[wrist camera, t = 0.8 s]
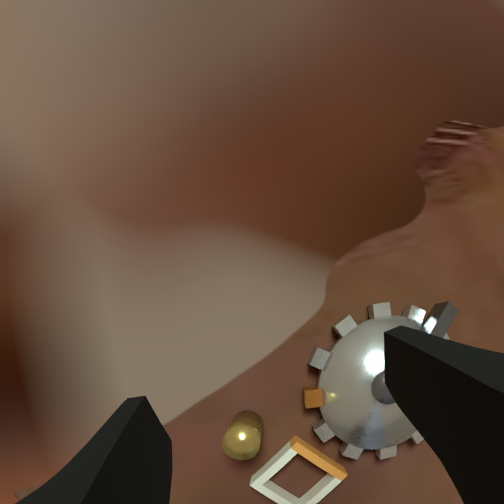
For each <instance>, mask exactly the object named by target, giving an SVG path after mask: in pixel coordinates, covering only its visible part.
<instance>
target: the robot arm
mask: <svg viewBox="0 0 504 504" xmlns="http://www.w3.org/2000/svg"><path fill="white" fill-rule="evenodd" d="M384 369H385V377H384V383H385V385H386V386H387V388H388V390H389V392H390V394H391V395H392V397H393V399H394V400H395V402H396V404H397V405H398V407H399V408H400V409H401V411H402V412H403V413H404V415H405V416H406V417H407V418H408V420H409V421H410V422H411V423H412V425H413V426H414V427H415V428H416V430H417V431H418V432H419V433H420V435H421V436H422V437H423V438H424V440H425V441H426V442H427V443H428V445H429V446H430V447H431V448H432V450H433V451H434V452H435V454H436V455H437V456H438V458H439V459H440V461H441V462H442V464H443V465H444V467H445V469H446V471H447V472H448V474H449V476H450V478H451V479H452V481H453V483H454V485H455V487H456V489H457V491H458V493H459V495H460V496H461V498H462V500H463V502H464V504H504V353H499V352H494V351H489V350H485V349H480V348H476V347H472V346H468V345H464V344H461V343H457V342H454V341H451V340H447V339H444V338H441V337H438V336H435V335H432V334H429V333H425V332H422V331H419V330H416V329H413V328H409V327H406V326H401V325H400V326H398V327H395V328H393V329H390V330H388V331H385V332H384ZM171 479H172V442H171V439H170V437H169V436H168V434H167V432H166V431H165V429H164V427H163V426H162V424H161V423H160V421H159V419H158V417H157V416H156V414H155V412H154V410H153V409H152V407H151V405H150V403H149V402H148V400H147V398H146V396H141V397H134V398H127V400H125V401H124V402H123V404H121V405H120V407H119V408H118V409H117V410H116V411H115V412H114V413H113V414H112V416H111V417H110V418H109V419H108V420H107V421H106V423H105V424H104V425H103V426H102V427H101V428H100V429H99V431H98V432H97V433H96V434H95V435H94V436H93V437H92V438H91V440H90V441H89V442H88V443H87V444H86V445H85V446H84V447H83V448H82V449H81V450H80V451H79V452H78V453H77V454H76V455H75V456H74V457H73V458H72V460H71V461H70V462H69V463H68V464H67V465H66V466H65V467H63V469H61V470H60V471H59V472H58V473H57V474H56V475H55V476H53V477H52V478H51V479H50V480H48V481H47V482H46V483H45V484H44V485H42V486H41V487H40V488H38V489H37V490H35V491H34V492H32V493H31V494H29V495H28V496H26V497H25V498H23V499H22V500H20V501H19V502H17V503H15V504H169V499H170V489H171Z"/></svg>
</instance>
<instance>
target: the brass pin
mask: <svg viewBox="0 0 504 504" xmlns="http://www.w3.org/2000/svg"><path fill="white" fill-rule="evenodd" d="M262 431H263V421H262V419H261V417H260V416H259V415H258V414H257V413H255V412H252V411H242V412H240V413H238V414H237V415H236V416H235V417H234V418H233V420H232V422H231V424H230V426H229V428H228V430H227V431H226V433H225V435H224V437H223V439H222V447H223V450H224V452H225V453H226V454H227V455H228V456H229V457H231V458H233V459H236V460H248V459H251V458H253V457H254V456H255V455H256V454H257V453H258V451H259V448H260V443H261V437H262Z"/></svg>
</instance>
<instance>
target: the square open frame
mask: <svg viewBox="0 0 504 504" xmlns="http://www.w3.org/2000/svg"><path fill="white" fill-rule="evenodd" d="M297 453H298V454H300V455H301V456H303V457H304V458H306V459H307V460H309V461H310V462H312V463H313V464H315V465H317V466H318V467H320V468H321V469H323V470H324V471H326V472H328V473H327V474H326V475H325V476H324V477H323V478H322V479H321V480H320V481H319V482H318V483H317V484H316V485H314V486H313V487H312V488H311V489H310V490H309V491H308V492H306V493H305V494H304V495H303V496H302V497H301V498H297V497H295V496H294V495H292V494H290V493H289V492H287V491H286V490H284V489H282V488H281V487H279V486H278V485H276V484H275V483H273V482H271V481H270V480H269V479H270V478H271V477H272V476H273V475H274V474H275V473H277V472H278V471H279V470H280V469H281V468H282V467H283V466H284V465H285V464H286V463H287V462H288V461H290V460H291V459H292V458H293V457H294V456H295V455H296V454H297ZM346 476H347V473H346V471H345V469H344V467H343V466H341V465H340V464H338V463H337V462H335V461H333V460H332V459H330V458H329V457H327V456H326V455H324V454H323V453H321V452H320V451H318V450H317V449H315V448H314V447H312V446H311V445H310V444H308V443H307V442H305V441H304V440H302V439H301V438H300V437H298V436H297V435H295V436H294V437H293V438H292V439H291V440H290V441H289V442H288V443H287V444H286V445H285V446H284V447H283V448H282V449H281V450H280V451H279V452H278V453H277V454H276V455H275V456H274V457H272V458H271V459H270V460H269V461H268V462H267V463H266V464H265V465H264V466H263V467H262V468H260V469H259V470H258V471H257V472H256V473H255V474H254V475H253V476H251V481H250V486H251V487H253V488H254V489H256V490H257V491H259V492H260V493H262V494H263V495H265V496H267V497H268V498H270V499H271V500H273V501H275V502H276V503H278V504H316V503H318V502H319V501H320V500H321V499H322V498H323V497H325V496H326V495H327V494H328V493H329V492H330V491H331V490H333V489H334V488H335V487H336V486H337V485H338V484H339V483H340V482H341V481H342V480H343V479H344V478H345V477H346Z"/></svg>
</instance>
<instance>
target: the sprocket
mask: <svg viewBox="0 0 504 504" xmlns="http://www.w3.org/2000/svg"><path fill="white" fill-rule="evenodd" d="M425 312H426V311H424V310H422V309H420V308H418V307H415V306H413V305H409V306H405V308H404V311H403V314H402V316H391V310H390V302H386V303H379V304H373V305H370V306H368V313H369V319H368V320H365V321H363V322H360V323H358V324H356V323H355V321H354V320H353V319H352V317H351V316H350V315H346V316H345V317H343V318H342V319H341V320H339V321H338V322H337V323H336V324H334V325H333V326H332V328H333V329H334V331H335V332H336V333H337V335H338V336H339V338H338V339H337V340H336V341H335V342H334V344H333V345H332V346H331V348H330V349H329V350H328V352H327V351H325V350H322V349H320V348H318V347H315V349H314V351H313V353H312V355H311V357H310V359H309V361H308V364H309V365H311V366H314V367H316V368H318V369H320V370H319V374H318V378H317V385H316V386H310V387H303V395H304V405H305V408H314V407H319V409H320V412H321V414H322V416H323V418H322V419H320V420H319V421H317V422H316V423H314V424H313V425H312V426H313V429H314V431H315V432H316V434H317V435H318V436H319V438H320V439H321V440H322V441H323V443H324V442H326V441H328V440H329V439H331V438H332V437H334V436H335V435H336V436H337V437H338V438H340V439H341V440H342V441H344V442H343V443H342V445H341V447H340V448H339V450H340V452H341V454H342V455H343V456H346V457H350V458H353V459H356V460H358V458H359V456H360V455H361V453H362V451H363V450H364V449H372V450H373V449H375V454H376V455H377V457H378V458H379V459H380V460H382V459H386V458H390V457H393V456H396V449H397V445H398V444H400V443H402V442H404V441H406V440H408V439H409V438H410V439H411V440H412V441H413V442H415V443H416V444H418V443H420V442H421V441H422V440H423V439H424V438H423V437H422V436H421V435H420V433H419V432H418V431H417V430H416V428H415V427H414V426H413V425H412V423H411V422H410V421H409V420H408V418H407V417H406V416H405V415H404V413H403V412H402V411H401V409H400V408H399V407H398V405H397V404H396V402H395V400H394V399H393V397H392V395H391V394H390V392H389V390H388V388H387V386H386V385H385V383H384V377H385V369H384V332H385V331H388V330H390V329H393V328H395V327H398V326H400V325H401V326H406V327H409V328H413V329H416V330H419V331H422V332H425V333H429V334H432V335H435V336H438V337H441V338H444V339H447V340H448V339H449V336H448V335H447V333H446V332H447V330H448V328H449V327H450V325H451V323H452V321H453V320H454V318H455V316H456V314H457V312H458V309H457V308H456V307H455V306H454V305H453V304H452V303H451V302H450V301H447V302H443V303H438V304H435V305H434V307H433V308H432V310H431V312H430V313H429V315H428V317H427V318H426V320H425V322H424V323H423V324H422V321H423V318H424V315H425Z"/></svg>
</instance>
